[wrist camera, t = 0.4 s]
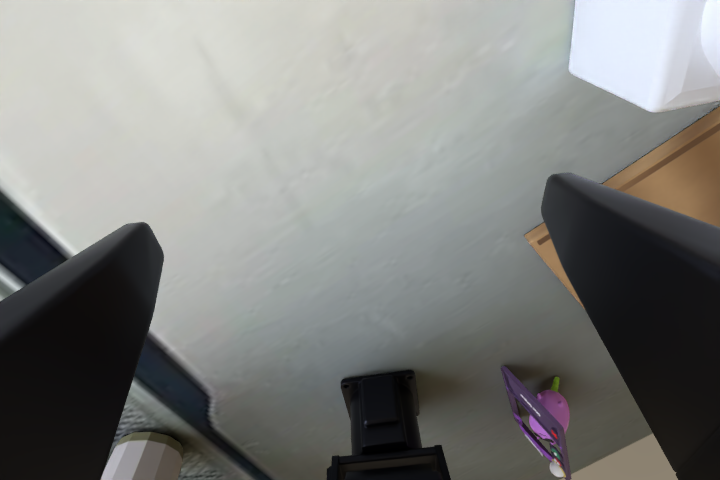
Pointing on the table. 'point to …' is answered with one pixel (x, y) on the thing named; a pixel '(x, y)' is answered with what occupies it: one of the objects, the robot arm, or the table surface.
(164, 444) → the bottle
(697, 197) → the wooden board
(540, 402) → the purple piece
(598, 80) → the medicine bottle
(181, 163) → the table surface
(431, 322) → the table surface
